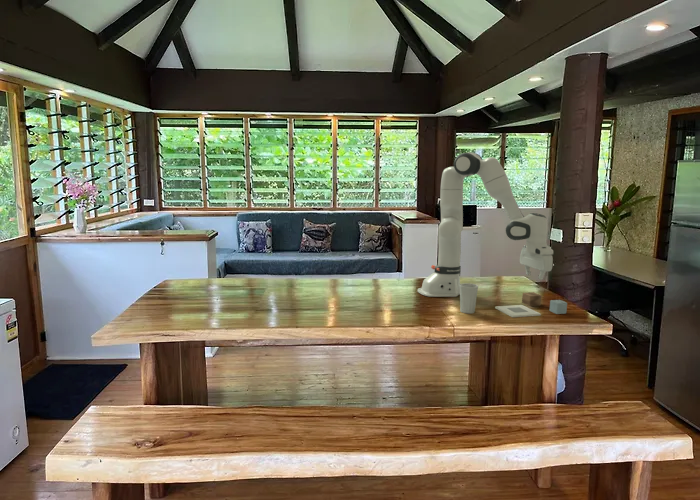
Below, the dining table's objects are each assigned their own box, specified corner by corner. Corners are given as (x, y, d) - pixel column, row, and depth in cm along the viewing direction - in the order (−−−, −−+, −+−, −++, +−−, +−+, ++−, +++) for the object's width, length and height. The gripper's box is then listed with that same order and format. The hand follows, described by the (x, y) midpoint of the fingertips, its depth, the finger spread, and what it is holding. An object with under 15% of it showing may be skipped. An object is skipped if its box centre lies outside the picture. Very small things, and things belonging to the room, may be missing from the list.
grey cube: (556, 314, 212) (557, 303, 211) (549, 311, 217) (550, 300, 216) (566, 313, 214) (567, 302, 213) (558, 310, 218) (559, 299, 217)
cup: (473, 315, 209) (474, 288, 207) (455, 312, 213) (457, 285, 211) (478, 310, 215) (480, 284, 213) (461, 307, 220) (463, 282, 218)
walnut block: (529, 306, 224) (530, 296, 223) (521, 302, 230) (522, 292, 229) (540, 305, 226) (541, 295, 225) (532, 302, 231) (533, 292, 230)
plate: (512, 317, 206) (512, 315, 206) (495, 308, 220) (495, 306, 220) (540, 315, 210) (540, 313, 210) (521, 306, 223) (522, 304, 223)
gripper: (517, 245, 232) (515, 273, 235) (543, 251, 213) (541, 282, 215) (528, 244, 234) (527, 272, 236) (556, 251, 214) (554, 281, 216)
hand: (534, 277), depth 225 cm, fingers open, 8 cm apart
